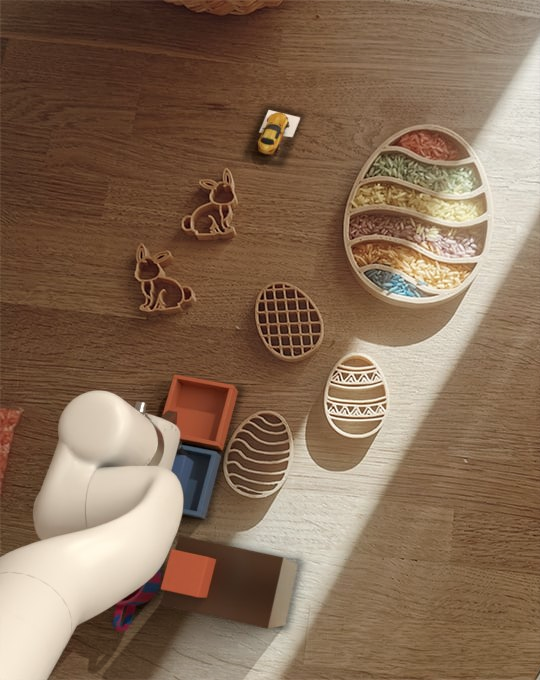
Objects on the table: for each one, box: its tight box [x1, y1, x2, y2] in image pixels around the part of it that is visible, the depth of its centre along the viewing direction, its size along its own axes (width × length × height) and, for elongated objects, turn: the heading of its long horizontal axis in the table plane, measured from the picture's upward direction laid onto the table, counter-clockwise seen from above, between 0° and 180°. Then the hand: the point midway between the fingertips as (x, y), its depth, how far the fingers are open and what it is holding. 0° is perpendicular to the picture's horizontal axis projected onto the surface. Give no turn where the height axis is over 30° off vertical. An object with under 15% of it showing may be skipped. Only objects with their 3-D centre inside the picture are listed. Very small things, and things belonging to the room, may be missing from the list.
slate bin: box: [181, 444, 222, 520], centre depth 104 cm, size 9×9×4 cm
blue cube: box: [171, 454, 193, 493], centre depth 100 cm, size 4×4×4 cm
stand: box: [160, 535, 299, 630], centre depth 93 cm, size 8×13×16 cm, turn 78°
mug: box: [112, 568, 162, 633], centre depth 98 cm, size 7×10×7 cm
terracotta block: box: [160, 548, 216, 598], centre depth 84 cm, size 4×4×4 cm
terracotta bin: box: [162, 374, 239, 452], centre depth 108 cm, size 9×9×4 cm
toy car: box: [256, 109, 301, 156], centre depth 124 cm, size 4×8×2 cm, turn 162°
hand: (172, 472), depth 101 cm, fingers closed on blue cube, 4 cm apart
